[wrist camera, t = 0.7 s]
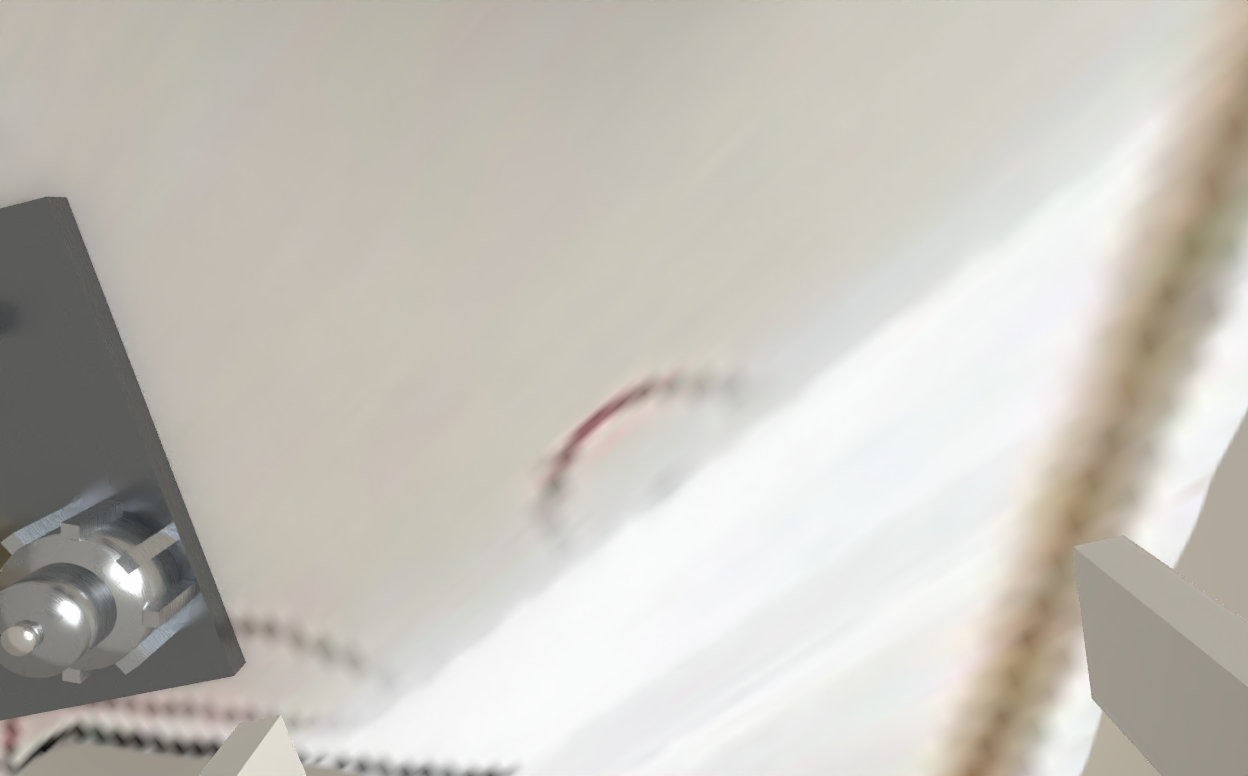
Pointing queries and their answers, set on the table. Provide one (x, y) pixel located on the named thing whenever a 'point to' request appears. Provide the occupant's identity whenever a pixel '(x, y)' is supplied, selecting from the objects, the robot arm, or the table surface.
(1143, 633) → the robot arm
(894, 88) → the table surface
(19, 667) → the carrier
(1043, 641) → the table surface
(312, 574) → the table surface
